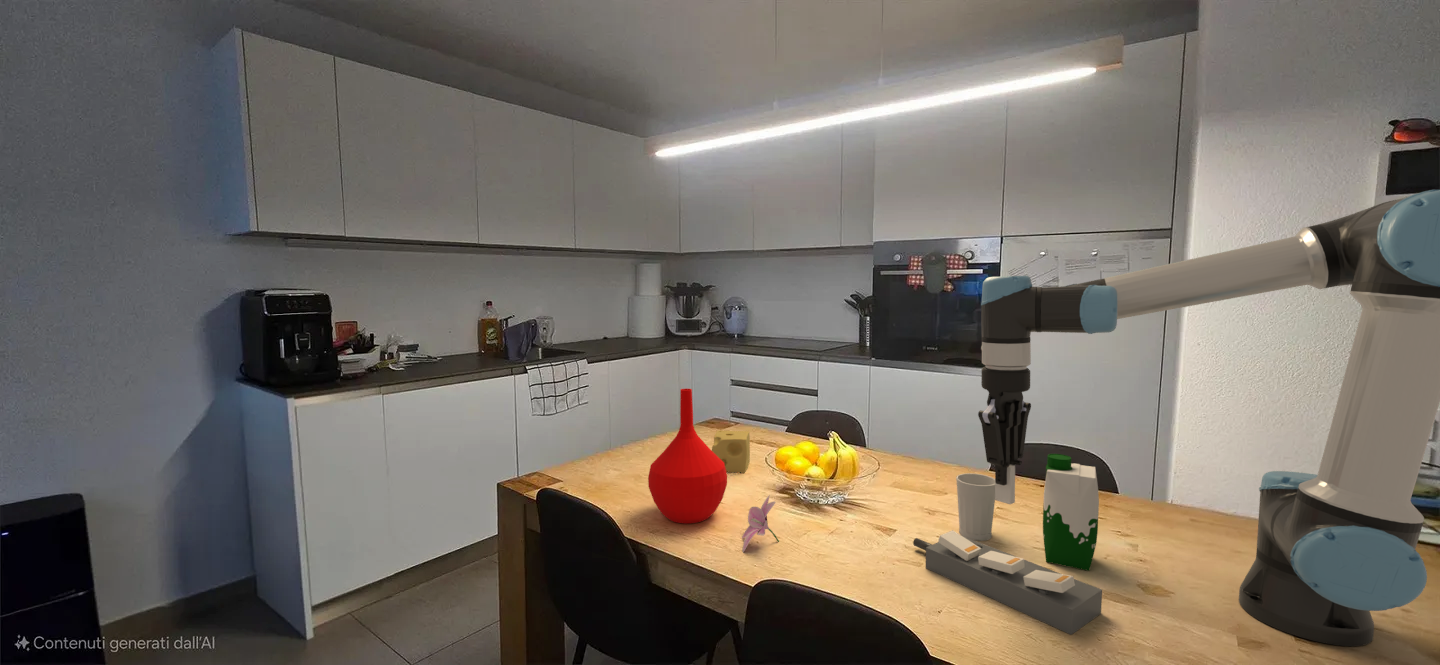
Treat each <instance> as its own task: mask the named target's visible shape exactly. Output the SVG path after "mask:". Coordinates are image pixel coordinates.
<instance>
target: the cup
mask: <svg viewBox="0 0 1440 665" xmlns="http://www.w3.org/2000/svg"><path fill="white" fill-rule="evenodd" d="M955 480H956V493H957V494H956V495H957V508H958V509H957V511H958V525H959V528H958V530H959V532H958V534H960V535H962V536H964V537H967V538H969V539H972V540H975V541H977V542H979V541H980V542H982V541H983V542H984V541H988V540H991V538H992V532H993V530H992V529H993V519H994V513H995V505H996V504H995V503H996V500H995V477H993V476H989V475H986V474H981V473H971V472H969V473H968V472H967V473H961V474H958V475H957V476H956V478H955Z"/></svg>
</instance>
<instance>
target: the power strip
mask: <svg viewBox="0 0 1440 665" xmlns="http://www.w3.org/2000/svg"><path fill="white" fill-rule="evenodd" d="M961 536H962V535H961ZM963 537H964V536H963ZM964 538H966V539H967V540H969V541H971V542H972V543H974V544H975V545H977V546H978V547H980V548H981V551H980V555H978V556H976V557H974V558H972V559H970V560H968V561H966V560H964V559H963V558H961V557H960V556H958V555H957V554H955V553H954V552H952V551H951V550H949V549H948V548H946V547H945V546H943V545H942V544H940V543H939V542H938V541H937V542H935V543H934V544H932V543H930V542H927V541H925V540H922V539H920V538H918V537H916V538H914V539H913V543H912V544H913V546H914V547H915V548H916V547H917V548H919V549H921V550H923V551H925V568H926V569H927V570H929V571H932V572H933V573H936V574H938V575H940V576H942V577H944V578H947V579H949V580H951V581H952V582H955V583H958V584H960V585H962V586H964V587H966V588H968V589H970V590H973V591H975V592H977V593H979V594H982V595H983V596H986V597H988V598H990V599H992V600H994V601H997V602H999V603H1001V604H1003V605H1005V606H1008V607H1010V608H1012V609H1014V610H1016V611H1019V612H1020V613H1022V614H1025V615H1026V616H1030V617H1031V618H1034V619H1036V620H1038V621H1040V622H1042V623H1045V624H1047V625H1048V626H1051V627H1053V628H1055V629H1057V630H1060V631H1061V632H1064V633H1066V634H1068V635H1070V636H1072V635H1074V633H1076V632H1077V631H1079V630H1080V629H1081V628H1083V627H1084V626H1086V625H1087V624H1088V623H1090V622H1091V621H1092V620H1094V619H1096V617H1098V616H1099V615H1101V614H1102V604H1103V602H1102V601H1103V589H1102V588H1099V587H1096V586H1094V585H1092V584H1089V583H1086V582H1083V581H1081V580H1079V579H1075V578H1074V583H1075V586H1073V587H1071V588H1070V589H1068V590H1067V591H1065V592H1063V593H1060V592H1055V591H1050V590H1045V589H1040V588H1035V587H1030V586H1025V583H1024V578H1023V577H1024V576H1026V575H1027V574H1029V573H1031V572H1033V571H1035V570H1040V571H1046V572H1052V573H1058V574H1061V573H1060V572H1058V571H1056V570H1052V569H1051V568H1050V569H1049V568H1046V567H1045V566H1041V565H1039V564H1037V563H1034V562H1031V561H1030V560H1026V559H1024V563H1025V567H1024V568H1023V569H1021V570H1019V571H1017V572H1015V573H1013V574H1010V573H1007V572H1003V571H999V570H996V569H992V568H989V567H985V566H982V565H979V560H978V557H979V556H981V555H983V554H985V553H987V552H989V551H995V552H999V553H1003V554H1007V555H1011V556H1014V557H1018V558H1020V557H1019V556H1016V555H1013V554H1010V553H1009V552H1007V551H1003V550H1000V549H998V548H995V547H992V546H989V545H987V544H984V543H982V542H981V541H980V542H979V541H977V540H972V539H969V538H967V537H964Z"/></svg>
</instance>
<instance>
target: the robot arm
mask: <svg viewBox="0 0 1440 665" xmlns="http://www.w3.org/2000/svg"><path fill="white" fill-rule="evenodd" d="M1031 279H1032V278H1031V277H1030V276H1029V275H1007V276H1005V275H1004V276H988V277H987V278H985V279H984V281H983V282H982V289H981V290H982V291H981V303H980V308H981V309H980V312H981V313H980V314H981V315H980V316H981V318H980V319H981V320H980V321H981V346H980V350H981V364H983V365H984V366H983V367H982V368H981V387H982V389H983V390H987V392H988V396H987V401H986V406H987V407H986V409H985V410H979V411H978V413H977V416H978V418H979V421H980V423H981V424H980V425H981V429H982V436H983V443H984V450H985V458H986V463H988V464H992V465H994V467H995V469H994V471H995V472H994V473H995V474H994V476H995V477H994V479H995V502H996V501H997V502H1000V503H1003V504H1007V505H1012V504H1015V503H1016V498H1015V497H1016V465H1017V466H1022V463H1023V461H1022V460H1018V459H1023V457H1024V450H1025V443H1026V437H1027V435H1026V434H1027V427H1028V419H1029V415H1030V412H1031V408H1032V404H1031V402H1025V401H1024V395H1023V393H1024V392H1025V393H1026V392H1028V391H1029V390H1030V388H1031V370H1030V369H1029V368H1028V366H1030V365H1031V361H1032V360H1031V356H1032V355H1031V354H1032V353H1031V350H1032V349H1031V333H1065V334H1066V333H1072V334H1073V333H1075V334H1076V333H1078V334H1088V335H1093V334H1098V333H1099V334H1100V333H1101V334H1105V333H1112V332H1113V331H1115V329H1117V325H1118V324H1117V323H1118V320H1119V319H1121V320H1122V319H1127V318H1132V317H1136V316H1137V317H1138V316H1143V315H1149V314H1153V313H1158V312H1159V313H1160V312H1164V311H1169V310H1176V309H1182V308H1187V307H1192V306H1198V305H1203V304H1208V303H1214V302H1215V303H1216V302H1220V301H1225V300H1231V299H1235V298H1242V297H1246V296H1252V295H1253V296H1254V295H1258V294H1263V293H1268V292H1275V291H1280V290H1281V291H1282V290H1286V289H1291V288H1296V287H1303V286H1310V287H1313V288H1315V289H1318V290H1323V289H1324V290H1325V289H1329V288H1334V287H1335V288H1336V287H1340V286H1341V287H1342V286H1349V285H1351V286H1350V287H1351V288H1350V291H1349V294H1350V296H1352V297H1353V298H1354V299H1355V301H1357V302H1358V303H1359V304H1360V307H1361V308H1362V309H1361V312H1360V317H1359V320H1358V324H1357V327H1356V331H1355V336H1354V338H1353V341H1352V342H1353V343H1352V346H1351V349H1350V352H1349V358H1348V361H1347V364H1346V369H1345V372H1344V376H1343V380H1342V382H1341V387H1340V391H1339V393H1338V394H1339V395H1338V398H1337V401H1336V404H1335V409H1334V413H1333V416H1332V419H1331V424H1330V428H1329V431H1328V434H1327V439H1326V443H1325V445H1324V449H1323V450H1324V451H1323V453H1322V457H1321V462H1320V465H1319V468H1318V472H1317V474H1314V473H1307V472H1296V471H1285V470H1284V471H1283V470H1282V471H1281V470H1276V471H1275V470H1272V471H1267V472H1266V473H1264V474H1263V475H1262V478H1261V483H1260V487H1258V491H1259V505H1258V506H1259V509H1258V523H1257V538H1256V540H1257V541H1256V554H1255V555H1256V556H1255V560H1254V561H1253V563H1252V565H1251V567H1250V568H1249V570H1248V572H1247V574H1246V576H1245V578H1244V579H1243V581H1242V582H1241V584H1240V586H1239V592H1238V604H1239V605H1240V606H1241V608H1242V609H1243V610H1244V611H1245V612H1247V614H1249V615H1250V616H1252V617H1253V618H1255V619H1257V620H1258V621H1260V622H1262V623H1264V624H1266V625H1267V626H1270V627H1272V628H1274V629H1277V630H1279V631H1282V632H1285V633H1287V634H1290V635H1292V636H1296V637H1300V638H1302V639H1305V640H1310V641H1314V642H1318V643H1322V644H1327V645H1328V644H1329V645H1334V646H1341V647H1342V646H1343V647H1359V646H1365V645H1369V644H1371V641H1373V640H1374V632H1375V631H1374V630H1375V624H1374V620H1373V617H1372V614H1371V612H1379V611H1380V612H1381V611H1387V610H1390V609H1391V610H1392V609H1394V608H1400V607H1403V606H1406V605H1408V604H1410V603H1412V602H1413V601H1415V600H1416V599H1417V598H1418V597H1419V596H1420V595H1421V594H1422V593H1423V591H1424V589H1425V587H1426V586H1427V580H1428V573H1427V569H1426V566H1425V562H1424V560H1423V558H1422V556H1421V555H1420V553H1419V552H1417V550H1416V549H1417V546H1418V545H1417V544H1418V542H1419V539H1420V536H1421V532H1422V528H1423V525H1424V522H1425V517H1424V516H1423V514H1422V513H1421V512H1420V510H1418V509H1417V508H1416V506H1414V504H1412V501H1411V499H1412V495H1413V492H1414V489H1415V486H1416V482H1417V480H1418V476H1419V473H1420V469H1421V466H1422V463H1423V462H1422V461H1423V460H1424V456H1425V452H1426V450H1427V445H1428V443H1429V439H1430V436H1431V433H1432V429H1433V425H1434V422H1435V420H1436V416H1437V412H1438V409H1439V405H1440V189H1429V190H1425V191H1421V192H1418V193H1415V194H1412V195H1409V196H1406V197H1403V198H1399V199H1394V200H1389V201H1386V202H1382V203H1379V204H1377V205H1373V206H1371V207H1368V208H1366V209H1362V210H1360V211H1357V212H1354V213H1352V214H1348V215H1345V216H1343V217H1338V218H1336V219H1332V220H1330V221H1326V222H1323V223H1322V222H1321V223H1319V224H1315V225H1309V226H1306V227H1302V228H1301V229H1300V230H1299V231H1298V232H1297V233H1296V234H1295V236H1290V237H1286V238H1281V239H1277V240H1273V241H1269V242H1268V241H1267V242H1262V243H1259V244H1254V245H1249V246H1245V247H1240V248H1237V249H1231V250H1226V251H1221V252H1218V253H1214V254H1209V255H1204V256H1199V257H1194V258H1189V259H1186V260H1182V261H1181V260H1180V261H1177V262H1171V263H1167V264H1163V265H1157V266H1153V267H1150V268H1149V267H1148V268H1144V269H1140V270H1135V271H1131V272H1126V273H1121V274H1118V275H1113V276H1107V277H1104V278H1100V279H1099V278H1098V279H1094V280H1089V281H1085V282H1080V283H1073V284H1069V285H1064V286H1063V285H1062V286H1049V287H1048V286H1045V287H1044V286H1043V287H1042V286H1033V284H1032V280H1031Z"/></svg>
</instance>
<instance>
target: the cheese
mask: <svg viewBox="0 0 1440 665" xmlns="http://www.w3.org/2000/svg"><path fill="white" fill-rule="evenodd" d="M750 437H751V436H750V431H749V430H748V431H747V430H746V431H745V430H721V429H720V430H716V432H715V433H714V436H713V444H712V447H711V451H713V452H714V453H715V454H716V455H717V456H718V457H719V458H720V459H721V460H722V461H723V462H724V464H725V468H726V473H734V472H741V473H740V474H746V473H745V472H747V470H748V467H749V464H750V459H751V458H750V453H751V447H750V446H751V444H750V443H751V441H750Z"/></svg>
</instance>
